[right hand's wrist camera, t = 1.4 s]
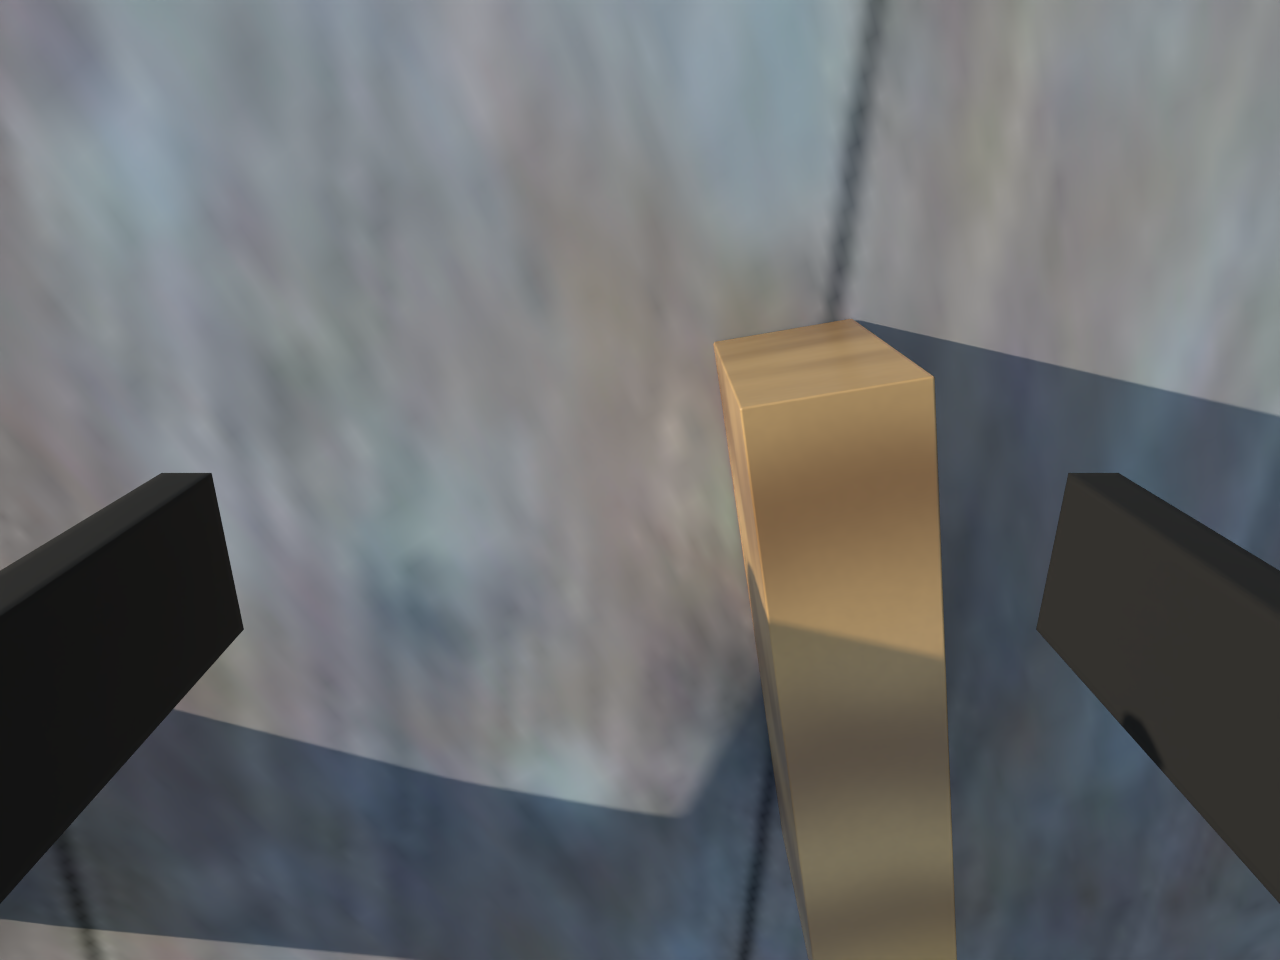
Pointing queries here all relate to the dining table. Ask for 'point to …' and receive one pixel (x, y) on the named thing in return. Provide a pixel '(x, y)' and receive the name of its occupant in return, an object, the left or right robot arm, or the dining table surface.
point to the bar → (848, 629)
